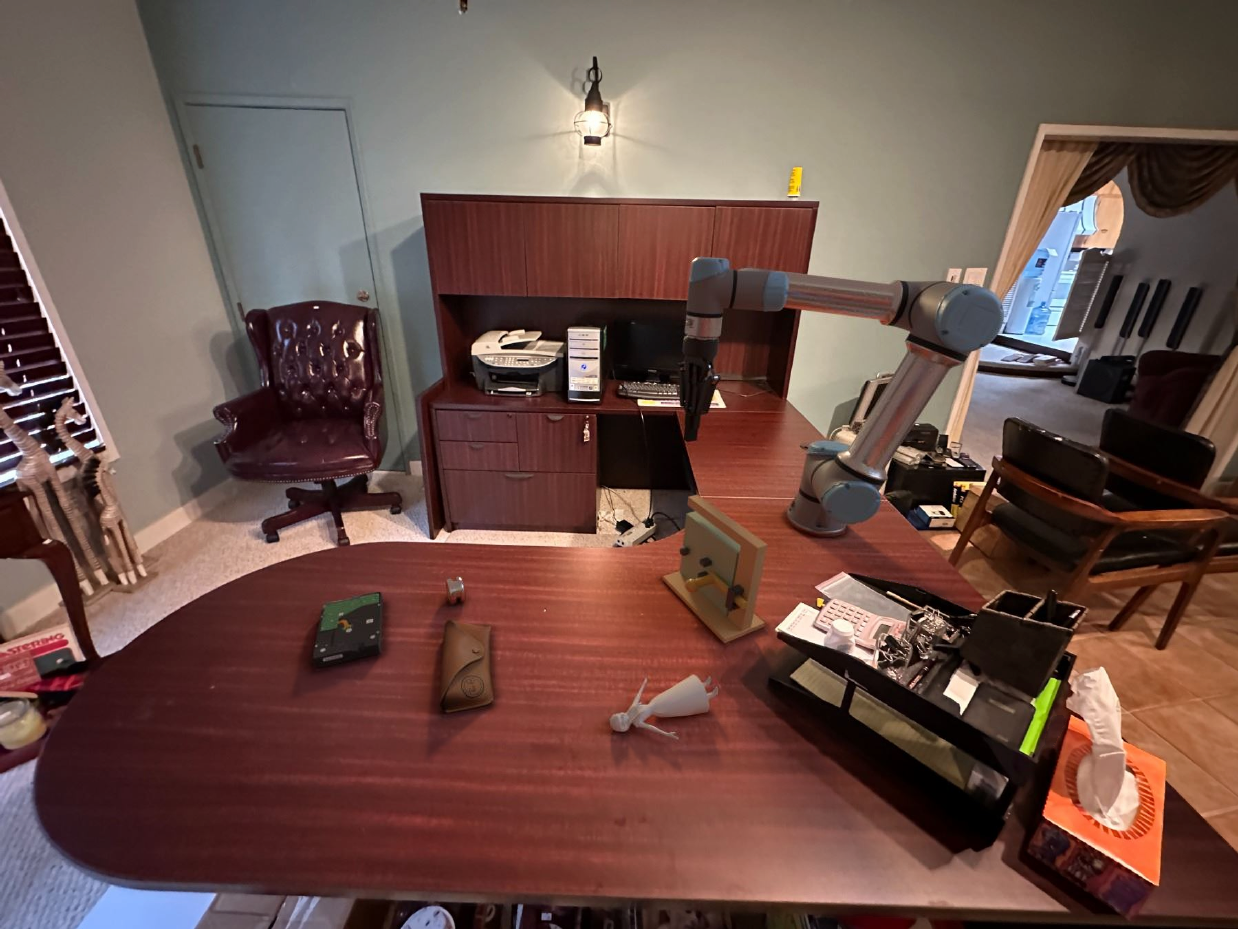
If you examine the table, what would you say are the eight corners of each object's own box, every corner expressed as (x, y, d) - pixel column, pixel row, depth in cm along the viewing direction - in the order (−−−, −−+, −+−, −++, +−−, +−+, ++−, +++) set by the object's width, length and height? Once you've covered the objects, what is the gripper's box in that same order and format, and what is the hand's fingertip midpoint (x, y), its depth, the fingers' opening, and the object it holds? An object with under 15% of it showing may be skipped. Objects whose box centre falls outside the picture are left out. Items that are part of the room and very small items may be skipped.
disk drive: (383, 654, 87) (383, 600, 99) (380, 642, 85) (381, 589, 98) (315, 671, 83) (324, 613, 95) (311, 659, 82) (321, 601, 94)
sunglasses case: (497, 701, 78) (471, 679, 75) (459, 725, 78) (432, 704, 75) (491, 623, 94) (470, 602, 91) (460, 643, 94) (437, 622, 90)
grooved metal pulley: (446, 594, 101) (444, 574, 99) (461, 590, 103) (459, 570, 101) (452, 609, 97) (449, 589, 95) (467, 604, 99) (465, 584, 97)
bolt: (711, 578, 99) (713, 568, 98) (746, 610, 91) (749, 599, 90) (681, 588, 96) (683, 578, 95) (715, 622, 88) (717, 611, 87)
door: (698, 568, 113) (709, 491, 105) (763, 626, 97) (782, 540, 89) (662, 579, 109) (670, 500, 101) (724, 643, 92) (739, 554, 84)
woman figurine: (734, 706, 74) (624, 749, 69) (732, 726, 76) (624, 769, 71) (696, 650, 84) (597, 684, 79) (695, 669, 86) (598, 703, 81)
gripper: (669, 331, 108) (661, 432, 118) (706, 343, 97) (693, 453, 107) (697, 330, 111) (686, 428, 121) (735, 341, 101) (720, 447, 111)
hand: (690, 440), depth 114 cm, fingers closed
